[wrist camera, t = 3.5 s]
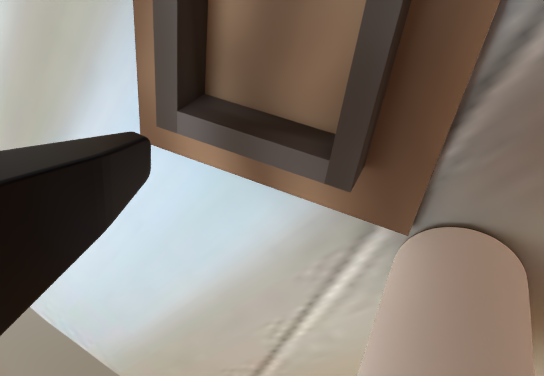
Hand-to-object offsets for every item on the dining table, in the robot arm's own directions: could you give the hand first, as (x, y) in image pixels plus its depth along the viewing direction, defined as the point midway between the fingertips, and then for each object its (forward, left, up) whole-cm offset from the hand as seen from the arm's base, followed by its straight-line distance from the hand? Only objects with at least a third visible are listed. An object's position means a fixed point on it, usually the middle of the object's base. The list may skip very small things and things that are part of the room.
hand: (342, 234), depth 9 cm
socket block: (+6, 0, -13) cm, 14 cm away
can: (-5, +10, -13) cm, 17 cm away
